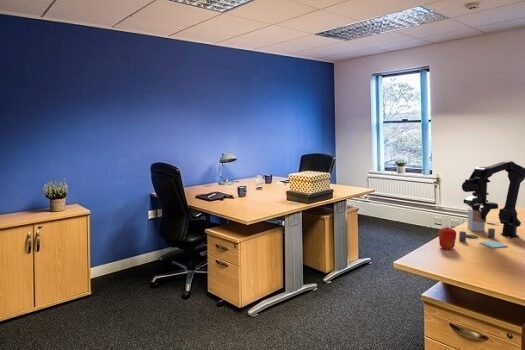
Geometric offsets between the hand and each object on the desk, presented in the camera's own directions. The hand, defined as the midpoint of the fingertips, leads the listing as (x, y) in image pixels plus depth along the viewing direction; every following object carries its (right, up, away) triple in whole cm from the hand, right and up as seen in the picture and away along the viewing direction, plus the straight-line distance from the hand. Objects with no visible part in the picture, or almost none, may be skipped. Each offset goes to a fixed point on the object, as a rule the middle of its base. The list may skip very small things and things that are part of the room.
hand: (479, 218), depth 206 cm
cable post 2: (+9, -11, +5) cm, 15 cm away
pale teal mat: (+3, -13, -8) cm, 15 cm away
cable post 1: (-9, -12, +1) cm, 15 cm away
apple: (-23, -14, -11) cm, 29 cm away
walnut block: (0, -2, 0) cm, 2 cm away
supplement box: (+10, -9, +21) cm, 25 cm away
